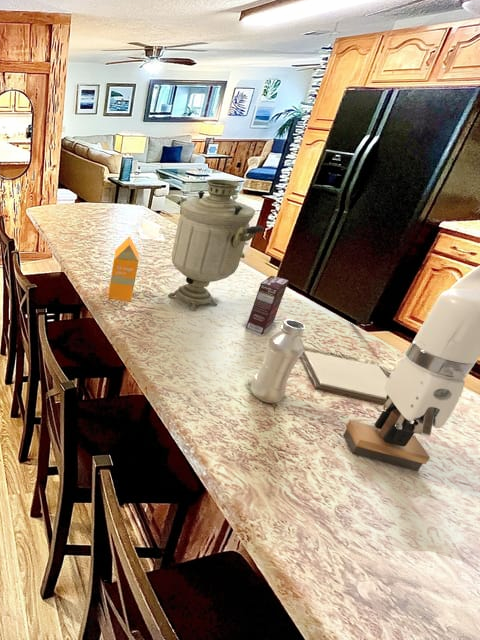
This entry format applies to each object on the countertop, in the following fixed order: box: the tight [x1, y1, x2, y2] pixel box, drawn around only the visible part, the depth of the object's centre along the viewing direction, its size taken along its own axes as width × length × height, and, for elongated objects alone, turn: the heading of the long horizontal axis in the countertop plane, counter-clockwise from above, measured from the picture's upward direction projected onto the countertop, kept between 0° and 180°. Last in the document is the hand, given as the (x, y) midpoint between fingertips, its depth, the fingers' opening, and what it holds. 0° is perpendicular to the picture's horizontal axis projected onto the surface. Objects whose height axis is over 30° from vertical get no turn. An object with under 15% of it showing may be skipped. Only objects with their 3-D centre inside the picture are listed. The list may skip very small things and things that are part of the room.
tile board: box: [299, 350, 390, 406], centre depth 96 cm, size 18×16×1 cm
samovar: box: [167, 178, 265, 312], centre depth 122 cm, size 30×26×40 cm
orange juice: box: [107, 235, 140, 302], centre depth 130 cm, size 8×9×20 cm
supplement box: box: [244, 275, 289, 337], centre depth 112 cm, size 9×5×16 cm, turn 130°
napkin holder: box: [137, 220, 166, 241], centre depth 191 cm, size 15×11×6 cm
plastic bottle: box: [250, 319, 306, 404], centre depth 85 cm, size 6×7×20 cm
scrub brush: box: [342, 409, 431, 472], centre depth 74 cm, size 10×5×10 cm, turn 68°
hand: (389, 435), depth 74 cm, fingers closed on scrub brush, 2 cm apart
